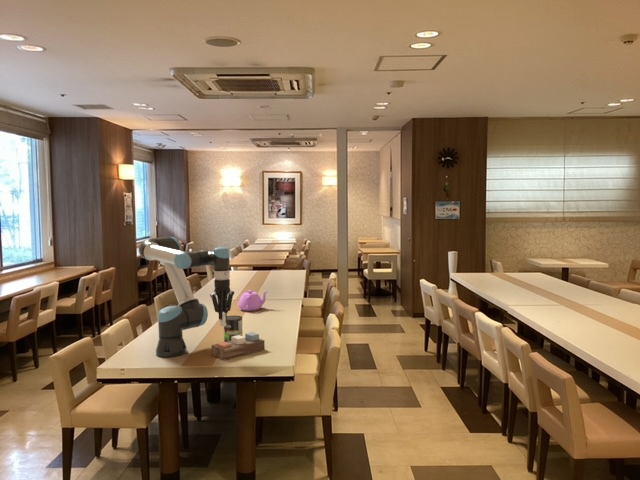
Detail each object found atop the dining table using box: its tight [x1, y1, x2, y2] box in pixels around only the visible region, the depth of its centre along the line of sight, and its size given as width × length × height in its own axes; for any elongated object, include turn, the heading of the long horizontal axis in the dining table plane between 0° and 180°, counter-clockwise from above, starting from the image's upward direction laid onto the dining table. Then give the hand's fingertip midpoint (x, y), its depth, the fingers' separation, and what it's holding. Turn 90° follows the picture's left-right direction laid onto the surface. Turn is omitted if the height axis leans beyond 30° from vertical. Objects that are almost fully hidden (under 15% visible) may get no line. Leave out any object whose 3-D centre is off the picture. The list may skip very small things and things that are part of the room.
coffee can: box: [223, 315, 244, 342], centre depth 274 cm, size 10×10×14 cm
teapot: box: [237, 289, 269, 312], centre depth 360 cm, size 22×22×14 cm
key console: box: [211, 338, 266, 361], centre depth 257 cm, size 12×24×5 cm, turn 133°
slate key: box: [244, 331, 260, 341], centre depth 262 cm, size 6×4×3 cm
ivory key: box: [231, 335, 245, 345], centre depth 257 cm, size 6×4×3 cm
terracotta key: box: [216, 341, 231, 349], centre depth 251 cm, size 6×4×3 cm
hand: (222, 325), depth 250 cm, fingers closed
